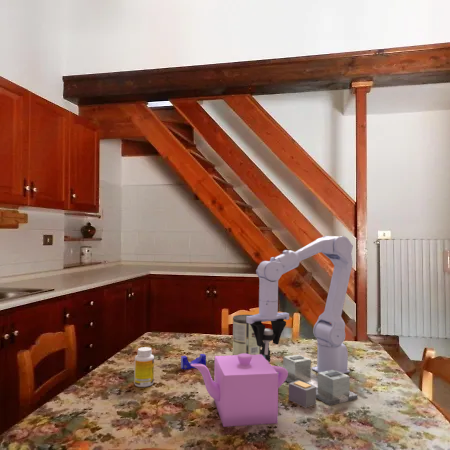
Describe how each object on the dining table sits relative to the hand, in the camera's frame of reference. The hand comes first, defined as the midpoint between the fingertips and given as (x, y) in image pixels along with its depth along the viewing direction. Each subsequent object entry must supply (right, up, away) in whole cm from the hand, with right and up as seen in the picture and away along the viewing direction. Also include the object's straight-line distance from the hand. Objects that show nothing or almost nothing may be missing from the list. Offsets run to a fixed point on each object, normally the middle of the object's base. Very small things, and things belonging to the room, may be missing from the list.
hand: (267, 344), depth 124 cm
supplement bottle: (-37, -10, -6) cm, 39 cm away
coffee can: (-5, -11, +22) cm, 25 cm away
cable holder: (-24, -11, +10) cm, 28 cm away
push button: (-1, -6, 0) cm, 6 cm away
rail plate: (+13, -11, -6) cm, 18 cm away
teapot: (-10, -10, -23) cm, 26 cm away
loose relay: (+7, -10, -16) cm, 21 cm away
